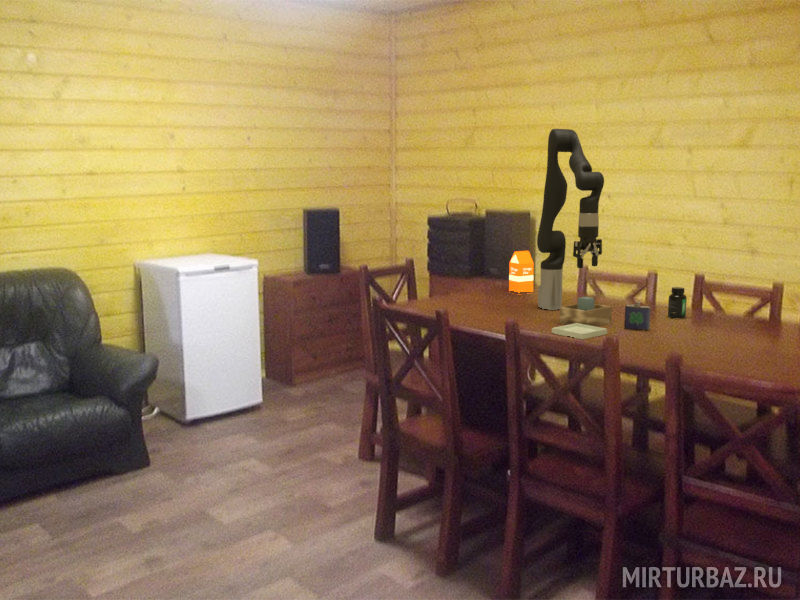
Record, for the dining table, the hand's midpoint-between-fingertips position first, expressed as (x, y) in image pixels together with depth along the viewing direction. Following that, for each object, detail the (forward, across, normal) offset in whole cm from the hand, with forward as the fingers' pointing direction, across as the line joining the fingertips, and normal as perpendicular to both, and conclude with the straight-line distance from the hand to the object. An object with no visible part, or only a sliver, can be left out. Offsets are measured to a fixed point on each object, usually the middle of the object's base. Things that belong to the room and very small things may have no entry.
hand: (587, 267), depth 313 cm
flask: (+22, -5, +20) cm, 30 cm away
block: (+20, 0, 0) cm, 20 cm away
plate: (+22, +17, +11) cm, 30 cm away
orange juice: (+22, -36, -68) cm, 80 cm away
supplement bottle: (+22, -37, +16) cm, 46 cm away
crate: (+22, 0, 0) cm, 22 cm away
